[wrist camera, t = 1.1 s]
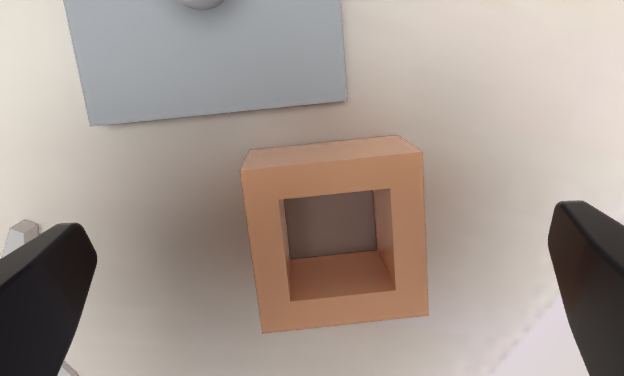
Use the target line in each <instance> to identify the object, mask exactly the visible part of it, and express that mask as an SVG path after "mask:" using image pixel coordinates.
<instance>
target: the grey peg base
mask: <svg viewBox="0 0 624 376" xmlns="http://www.w3.org/2000/svg"><path fill="white" fill-rule="evenodd" d="M63 1H64V6H65V10H66V15H67V20H68V24H69V29H70V34H71V39H72V43H73V48H74V53H75V57H76V62H77V67H78V71H79V76H80V81H81V85H82V90H83V95H84V99H85V104H86V109H87V113H88V118H89V123H90V126H100V125H110V124H120V123H130V122H140V121H150V120H160V119H170V118H180V117H190V116H200V115H210V114H219V113H229V112H239V111H249V110H259V109H269V108H279V107H289V106H299V105H309V104H319V103H329V102H339V101H348V97H347V83H346V70H345V57H344V44H343V30H342V17H341V4H340V0H63Z"/></svg>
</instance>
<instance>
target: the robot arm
mask: <svg viewBox="0 0 624 376" xmlns="http://www.w3.org/2000/svg"><path fill="white" fill-rule="evenodd" d="M548 248H549V252H550V256H551V259H552V263H553V267H554V271H555V274H556V278H557V282H558V286H559V289H560V293H561V297H562V300H563V304H564V308H565V311H566V315H567V318H568V322H569V325H570V328H571V330H572V333H573V336H574V338H575V341H576V343H577V346H578V348H579V351H580V353H581V356H582V358H583V361H584V363H585V366H586V368H587V370H588V373H589V375H590V376H624V225H622V224H620V223H619V222H617V221H615V220H614V219H612V218H611V217H609V216H607V215H606V214H604V213H603V212H601V211H599V210H598V209H596V208H595V207H593V206H591V205H590V204H588V203H586V202H584V201H580V200H577V201H560V202H559V203H557V204H556V206H555V209H554V213H553V217H552V222H551V226H550V231H549V235H548ZM96 265H97V254H96V251H95V249H94V247H93V245H92V243H91V241H90V239H89V237H88V235H87V234H86V232H85V230H84V228H83V226H81V225H80V224H78V223H61V224H57V225H55V226H53V227H52V228H50V229H48V230H47V231H45V232H43V233H42V234H40V235H39V236H37V237H35V238H34V239H32V240H30V241H29V242H27V243H26V244H24V245H22V246H21V247H19V248H17V249H16V250H14V251H12V252H11V253H9V254H8V255H6V256H4V257H3V258H1V259H0V376H58V373H59V371H60V369H61V366H62V364H63V361H64V359H65V357H66V354H67V352H68V350H69V347H70V345H71V343H72V340H73V337H74V335H75V332H76V330H77V327H78V324H79V321H80V318H81V314H82V311H83V308H84V304H85V301H86V298H87V295H88V291H89V288H90V285H91V281H92V278H93V275H94V272H95V268H96Z"/></svg>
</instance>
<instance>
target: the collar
mask: <svg viewBox="0 0 624 376" xmlns="http://www.w3.org/2000/svg"><path fill="white" fill-rule="evenodd" d="M240 174H241V182H242V189H243V196H244V203H245V211H246V218H247V225H248V233H249V240H250V247H251V254H252V262H253V269H254V276H255V284H256V291H257V298H258V305H259V313H260V320H261V327H262V334H263V333H272V332H281V331H290V330H299V329H308V328H318V327H327V326H336V325H345V324H354V323H363V322H373V321H382V320H391V319H400V318H409V317H418V316H428V315H429V314H428V287H427V260H426V234H425V207H424V180H423V154H422V151H421V150H419V149H418V148H416V147H415V146H413V145H412V144H410V143H409V142H407V141H406V140H404V139H403V138H401V137H400V136H399V135H393V136H383V137H373V138H363V139H354V140H344V141H334V142H324V143H314V144H305V145H295V146H285V147H275V148H265V149H256V150H249V152H248V154H247V156H246V159H245V161H244V163H243V165H242V167H241V169H240ZM368 190H374V206H375V221H376V236H377V250H376V251H366V252H357V253H348V254H338V255H329V256H319V257H310V258H301V259H291V260H290V253H289V244H288V235H287V227H286V218H285V209H284V201H283V199H292V198H301V197H311V196H320V195H330V194H340V193H349V192H359V191H368Z"/></svg>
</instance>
